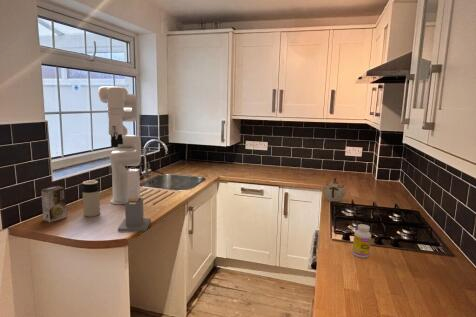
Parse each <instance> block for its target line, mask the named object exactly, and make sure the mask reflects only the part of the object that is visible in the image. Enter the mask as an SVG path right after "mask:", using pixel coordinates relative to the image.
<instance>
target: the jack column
mask: <svg viewBox="0 0 476 317" xmlns="http://www.w3.org/2000/svg"><path fill="white" fill-rule="evenodd" d="M127 170H128V202H139V201H140V198H141V182H140V171H141V170H140V168H128V169H127Z"/></svg>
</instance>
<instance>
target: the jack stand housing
mask: <svg viewBox="0 0 476 317" xmlns="http://www.w3.org/2000/svg"><path fill="white" fill-rule="evenodd" d="M124 206H125V209H124V210H125V213H124V214H125V218H123V220H122V222H121V223H120V225H119V226H118V228H117V232H118V231H119V233H121V232H122V231H129V232H147V230H148V228H149V226H150V223H151V218H150V217H149V218H145V217H144V197H140V201H139V202H128V199H127V201H126V202H125V204H124ZM120 231H121V232H120Z"/></svg>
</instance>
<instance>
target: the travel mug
mask: <svg viewBox="0 0 476 317" xmlns="http://www.w3.org/2000/svg"><path fill="white" fill-rule="evenodd" d="M98 183H99V181H98V180H94V179H93V180H92V179H91V180H84V181H83V182H82V184H83V186H82V188H81V191H82V207H83V216H84V217H88V218H89V217H96V216H98V215H100V214H101V208H100V187H99V186H98Z"/></svg>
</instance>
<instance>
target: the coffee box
mask: <svg viewBox="0 0 476 317" xmlns="http://www.w3.org/2000/svg"><path fill="white" fill-rule="evenodd" d="M40 193H41V205H42V207H41V208H42V218H43V221H46V222H48V223H53V222H55V221H56V222H57V221H59V220H62V219H65V218H68V209H67V208H68V207H67V199H66V188H65V187H63V186H60V185H56V186H50V187H47V188H41V189H40Z"/></svg>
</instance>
